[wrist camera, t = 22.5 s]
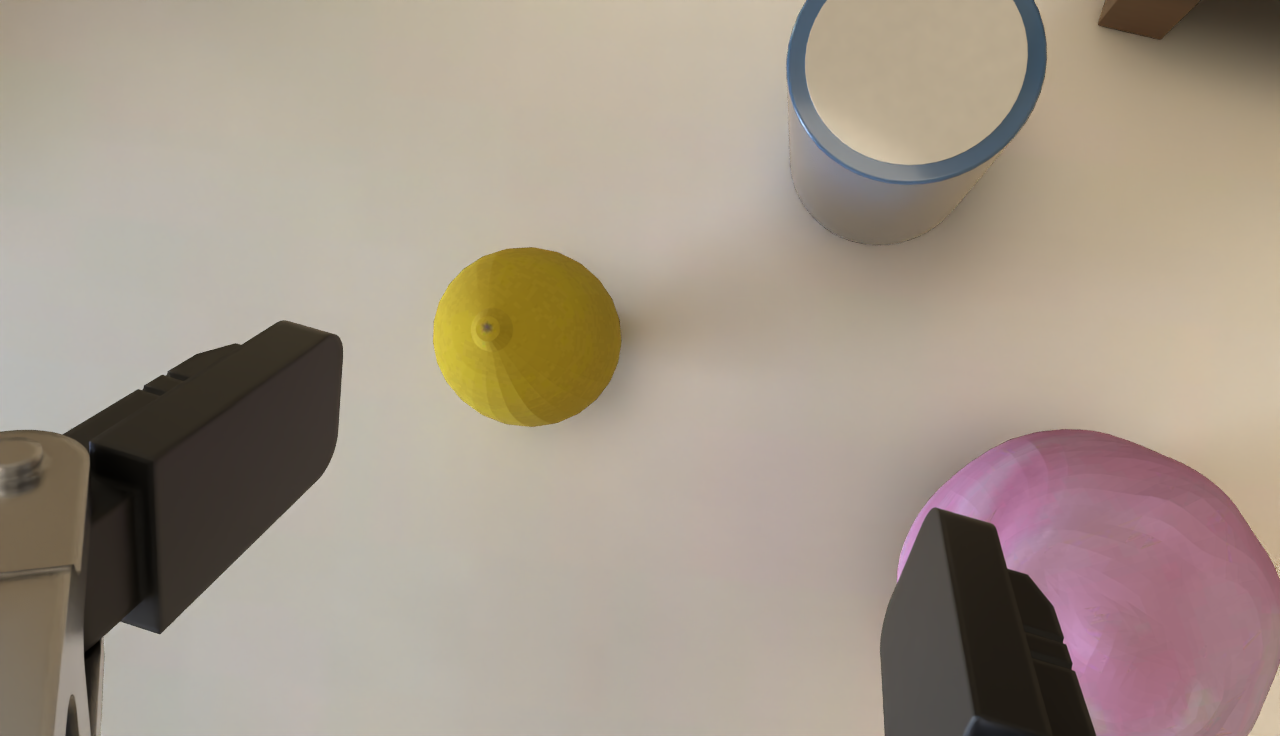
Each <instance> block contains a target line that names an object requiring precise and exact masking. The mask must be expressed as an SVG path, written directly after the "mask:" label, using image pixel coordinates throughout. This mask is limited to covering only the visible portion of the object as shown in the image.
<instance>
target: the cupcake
mask: <svg viewBox="0 0 1280 736" xmlns="http://www.w3.org/2000/svg"><path fill="white" fill-rule="evenodd" d="M934 507H936V508H940V509H943V510H947V511H950V512H954V513H957V514H961V515H964V516H968V517H971V518H975V519H978V520H982V521H985V522H989V523H992V524H994V526H995V527H996V529H997V533H998V536H999V540H1000V544H1001V547H1002V551H1003V555H1004V558H1005V562H1006V566H1007V569H1011V570H1014V571H1017V572H1021V573H1024V574H1028V575H1029V577H1030V578H1031V579H1032V580H1033V581H1034V583H1035V584H1036V585H1037V586H1038V588H1039V589H1040V590H1041V591H1042V593H1043V594H1044V595H1045V596H1046V597H1047V599H1048V600H1049V601H1050V602H1051V604H1052V605H1053V606H1054V609H1055V612H1056V615H1057V618H1058V621H1059V624H1060V627H1061V630H1062V633H1063V636H1064V640H1063V643H1064V644H1066V645H1067V648H1068V651H1069V654H1070V657H1071V660H1072V663H1073V665H1072V670H1073V671H1075V672H1076V675H1077V678H1078V681H1079V684H1080V687H1081V690H1082V693H1083V697H1084V700H1085V703H1086V706H1087V709H1088V712H1089V715H1090V718H1091V721H1092V724H1093V727H1094V730H1095V733H1096V736H1248V734H1249V733H1250V731H1251V730H1252V728H1253V726H1254V724H1255V722H1256V720H1257V718H1258V716H1259V713H1260V711H1261V708H1262V706H1263V703H1264V701H1265V699H1266V696H1267V694H1268V692H1269V689H1270V687H1271V684H1272V682H1273V680H1274V677H1275V674H1276V672H1277V669H1278V666H1279V663H1280V580H1279V577H1278V575H1277V572H1276V570H1275V567H1274V565H1273V563H1272V561H1271V560H1270V558H1269V556H1268V554H1267V552H1266V551H1265V549H1264V548H1263V546H1262V545H1261V544H1260V542H1259V541H1258V539H1257V538H1256V536H1255V535H1254V533H1253V532H1252V530H1251V528H1250V527H1249V525H1248V524H1247V522H1246V521H1245V519H1244V518H1243V516H1242V515H1241V513H1240V512H1239V510H1238V509H1237V507H1236V506H1235V504H1234V503H1233V502H1232V501H1231V500H1230V498H1229V497H1228V496H1227V495H1226V494H1225V493H1224V492H1223V491H1222V490H1221V489H1220V488H1219V487H1217V486H1216V485H1215V484H1214V483H1213V482H1211V481H1210V480H1209V479H1207V478H1206V477H1205V476H1203V475H1202V474H1200V473H1199V472H1197V471H1196V470H1194V469H1192V468H1190V467H1188V466H1186V465H1185V464H1183V463H1180V462H1178V461H1176V460H1174V459H1172V458H1169V457H1166V456H1164V455H1162V454H1159V453H1157V452H1155V451H1152V450H1150V449H1148V448H1145V447H1143V446H1141V445H1138V444H1136V443H1133V442H1130V441H1128V440H1125V439H1122V438H1118V437H1115V436H1112V435H1109V434H1105V433H1101V432H1096V431H1088V430H1070V429H1061V430H1052V431H1042V432H1036V433H1032V434H1028V435H1024V436H1021V437H1017V438H1013V439H1010V440H1008V441H1006V442H1004V443H1002V444H1000V445H998V446H996V447H994V448H992V449H990V450H989V451H987V452H985V453H984V454H982V455H981V456H979V457H978V458H976V459H975V460H973V461H972V462H970V463H969V464H967V465H966V466H965V467H964V468H962V469H961V470H960V471H959V472H957V473H956V474H955V475H954V476H953V477H951V478H950V479H949V480H948V481H947V482H946V483H945V484H943V485H942V486H941V487H940V488H939V489H938V490H937V491H936V493H935V494H934V495H933V496H932V497H931V498H930V499H929V500H928V502H927V503H926V504H925V506H924V507H923V508H922V510H921V511H920V513H919V514H918V516H917V518H916V519H915V521H914V523H913V524H912V526H911V528H910V531H909V533H908V535H907V537H906V540H905V542H904V545H903V548H902V551H901V554H900V559H899V564H898V569H897V582H898V580H899V578H900V575H901V573H902V570H903V568H904V566H905V563H906V561H907V559H908V556H909V554H910V551H911V549H912V547H913V544H914V542H915V540H916V537H917V535H918V532H919V530H920V528H921V525H922V523H923V521H924V519H925V517H926V515H927V514H928V512H929V511H930V510H931V509H932V508H934Z"/></svg>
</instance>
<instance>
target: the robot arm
mask: <svg viewBox="0 0 1280 736" xmlns="http://www.w3.org/2000/svg"><path fill="white" fill-rule="evenodd" d="M342 364H343V346H342V342H341V340H340V338H339V337H338V336H337V335H335V334H332V333H328V332H325V331H321V330H318V329H314V328H311V327H307V326H304V325H300V324H297V323H293V322H290V321H285V320H283V321H279V322H277V323H275V324H274V325H272V326H271V327H269V328H268V329H266V330H264V331H263V332H261V333H260V334H258V335H256V336H255V337H253V338H252V339H250V340H248V341H247V342H245V343H244V344H242V345H239V344H236V343H235V344H231V345H228V346H224V347H221V348H217V349H213V350H210V351H206V352H203V353H199V354H196V355H194V356H193V357H191V358H189V359H188V360H186V361H184V362H183V363H181V364H179V365H178V366H176V367H174V368H173V369H171V370H169V371H168V373H167V375H166V376H164V375H161V376H159V377H158V378H156V379H154V380H153V381H151V382H149V383H148V384H146V385H144V389H143V390H139V389H138V390H136V391H134V392H133V393H131V394H129V395H128V396H126V397H124V398H123V399H121V400H119V401H118V402H116V403H114V404H113V405H111V406H109V407H108V408H106V409H104V410H103V411H101V412H99V413H98V414H96V415H94V416H93V417H91V418H89V419H88V420H86V421H84V422H83V423H81V424H79V425H78V426H76V427H74V428H73V429H71V430H69V431H68V432H66V433H64V434H63V435H61V434H58V433H54V432H47V431H38V430H14V431H3V432H0V736H101V721H102V701H103V681H104V662H105V652H104V639H103V636H104V635H105V634H107V633H108V632H109V631H110V630H111V629H112V628H113V627H114V626H115V625H117V624H118V623H119V622H120V621H121V622H124V623H127V624H130V625H133V626H136V627H139V628H142V629H145V630H148V631H151V632H154V633H157V634H161V633H162V632H163V631H164V630H165V629H166V628H167V627H168V626H169V625H170V624H171V623H172V622H173V621H174V620H175V619H176V618H177V617H178V616H179V615H180V614H181V613H182V612H183V611H184V610H185V609H186V608H187V607H188V606H189V605H191V604H192V603H193V602H194V601H195V600H196V599H197V598H198V597H199V596H200V595H201V594H202V593H203V592H204V591H205V590H206V589H207V588H208V587H209V586H210V585H211V584H212V583H213V582H214V581H215V580H216V579H217V578H218V577H219V576H220V575H221V574H222V573H223V572H224V571H225V570H226V569H227V568H228V567H229V566H230V565H231V564H232V563H233V562H234V561H235V560H236V559H238V558H239V557H240V556H241V555H242V554H243V553H244V552H245V551H246V550H247V549H248V548H249V547H250V546H251V545H252V544H253V543H254V542H255V541H256V540H257V539H258V538H259V537H260V536H261V535H262V534H263V533H264V532H265V531H266V530H267V529H268V528H269V527H270V526H271V525H272V524H273V523H274V522H275V521H276V520H277V519H278V518H279V517H280V516H281V515H282V514H283V513H285V512H286V511H287V510H288V509H289V508H290V507H291V506H292V505H293V504H294V503H295V502H296V501H297V500H298V499H299V498H300V497H301V496H302V495H303V494H304V493H305V492H306V491H307V490H308V489H309V488H310V487H311V486H312V485H313V484H314V483H315V482H316V481H317V480H318V479H319V478H320V477H321V476H322V474H323V473H324V472H325V470H326V468H327V466H328V465H329V463H330V460H331V458H332V456H333V453H334V450H335V446H336V442H337V437H338V425H339V409H340V394H341V379H342ZM1063 640H1064V636H1063V633H1062V630H1061V627H1060V624H1059V621H1058V618H1057V615H1056V612H1055V609H1054V606H1053V605H1052V604H1051V602H1050V601H1049V600H1048V599H1047V597H1046V596H1045V595H1044V594H1043V593H1042V591H1041V590H1040V589H1039V588H1038V586H1037V585H1036V584H1035V583H1034V581H1033V580H1032V579H1031V578H1030V577H1029V575H1028V574H1024V573H1021V572H1017V571H1014V570H1011V569H1007V566H1006V562H1005V558H1004V555H1003V551H1002V547H1001V544H1000V540H999V536H998V533H997V529H996V527H995V526H994V524H992V523H989V522H985V521H982V520H978V519H975V518H971V517H968V516H964V515H961V514H957V513H954V512H950V511H947V510H943V509H940V508H936V507H934V508H932V509H931V510H930V511H929V512H928V514H927V515H926V517H925V519H924V521H923V523H922V525H921V528H920V530H919V532H918V535H917V537H916V540H915V542H914V544H913V547H912V549H911V551H910V554H909V556H908V559H907V561H906V563H905V566H904V568H903V570H902V573H901V575H900V578H899V580H898V582H897V585H896V587H895V589H894V592H893V594H892V597H891V599H890V602H889V604H888V607H887V611H886V614H885V618H884V622H883V627H882V633H881V642H880V656H881V674H882V692H883V710H884V728H885V736H1096V733H1095V730H1094V727H1093V724H1092V721H1091V718H1090V715H1089V712H1088V709H1087V706H1086V703H1085V700H1084V697H1083V693H1082V690H1081V687H1080V684H1079V681H1078V678H1077V675H1076V672H1075V671H1073V670H1072V665H1073V663H1072V660H1071V657H1070V654H1069V651H1068V648H1067V645H1066V644H1064V643H1063Z"/></svg>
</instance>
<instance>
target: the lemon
mask: <svg viewBox="0 0 1280 736" xmlns="http://www.w3.org/2000/svg"><path fill="white" fill-rule="evenodd" d="M433 344H434V349H435V354H436V359H437V363H438V365H439V367H440V369H441V371H442V373H443V376H444V378H445V380H446V382H447V383H448V384H449V385H450V386H451V388H452V389H453V390H454V391H455V393H456V394H457V395H458V396H459V397H460V399H461V400H463V401H464V402H465V403H467V404H468V405H469V406H471V407H472V408H473V409H475V410H476V411H478V412H479V413H480V414H482V415H484V416H486V417H489V418H492V419H494V420H497V421H500V422H502V423H505V424H509V425H519V426H529V427H535V426H541V425H548V424H554V423H558V422H560V421H563V420H565V419H567V418H570V417H572V416H574V415H576V414H578V413H580V412H581V411H582V410H584V409H585V408H586V407H587V406H589V405H590V404H591V403H592V402H594V401H595V400H596V399H597V398H598V397H599V395H600V394H601V393H602V391H603V390H604V389H605V387H606V386H607V385H608V384H609V382H610V380H611V378H612V376H613V373H614V371H615V369H616V366H617V364H618V360H619V354H620V347H621V332H620V321H619V317H618V314H617V312H616V309H615V306H614V303H613V300H612V298H611V297H610V295H609V294H608V292H607V291H606V289H605V288H604V286H603V285H602V284H601V282H600V281H599V279H598V278H596V277H595V276H594V275H593V274H592V273H591V272H590V271H589V270H587V269H586V268H585V267H584V266H583V265H582V264H580V263H579V262H577V261H575V260H573V259H571V258H569V257H567V256H565V255H563V254H561V253H558V252H554V251H549V250H544V249H539V248H533V247H529V248H513V249H505V250H502V251H498V252H495V253H492V254H489V255H486V256H483V257H482V258H480V259H478V260H477V261H475V262H474V263H472V264H471V265H469V266H468V267H466V268H464V269H463V270H462V271H461V272H460V273H459V275H458V276H457V277H456V278H455V279H454V280H453V281H452V282H451V283H450V284H449V286H448V288H447V290H446V291H445V293H444V295H443V297H442V298H441V300H440V302H439V305H438V309H437V312H436V316H435V319H434V333H433Z"/></svg>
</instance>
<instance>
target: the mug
mask: <svg viewBox="0 0 1280 736" xmlns="http://www.w3.org/2000/svg"><path fill="white" fill-rule="evenodd" d="M1046 62H1047V43H1046V36H1045V30H1044V25H1043V22H1042V19H1041V16H1040V13H1039V10H1038V8H1037V6H1036V4H1035V2H1034V0H806V2H805V3H804V5H803V7H802V9H801V11H800V12H799V14H798V17H797V19H796V22H795V24H794V27H793V29H792V33H791V37H790V41H789V44H788V52H787V60H786V70H787V100H788V125H789V149H790V168H791V175H792V180H793V183H794V187H795V190H796V192H797V194H798V196H799V199H800V200H801V202H802V204H803V205H804V207H805V208H806V210H807V211H808V212H809V213H810V215H811V216H812V217H813V218H814V219H815V220H816V221H817V222H818V223H819V224H821V225H822V226H823V227H825V228H826V229H827V230H829V231H830V232H832V233H834V234H836V235H838V236H840V237H842V238H844V239H847V240H850V241H853V242H857V243H862V244H869V245H889V244H895V243H901V242H904V241H908V240H911V239H914V238H916V237H918V236H921V235H923V234H925V233H926V232H928V231H930V230H931V229H933V228H934V227H936V226H937V225H938V224H940V223H941V222H942V221H943V220H944V219H945V218H946V217H947V216H948V215H949V214H950V213H951V212H952V211H953V210H954V209H955V208H956V207H957V205H958V204H959V203H960V202H961V201H962V199H963V198H964V197H965V196H966V195H967V193H968V192H969V191H970V190H971V189H972V187H973V186H974V185H975V184H976V183H977V182H978V180H979V179H980V178H981V177H982V176H983V174H984V173H985V172H986V171H987V170H988V168H989V167H990V166H991V165H992V164H993V162H994V161H995V160H996V159H997V158H998V157H999V155H1000V154H1001V153H1002V152H1003V151H1004V149H1005V148H1006V147H1007V146H1008V145H1009V143H1010V142H1011V141H1012V140H1013V139H1014V137H1015V136H1016V135H1017V134H1018V132H1019V131H1020V130H1021V128H1022V127H1023V126H1024V124H1025V123H1026V121H1027V120H1028V118H1029V116H1030V114H1031V113H1032V111H1033V109H1034V107H1035V105H1036V102H1037V100H1038V97H1039V95H1040V93H1041V89H1042V85H1043V81H1044V77H1045V71H1046Z"/></svg>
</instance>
